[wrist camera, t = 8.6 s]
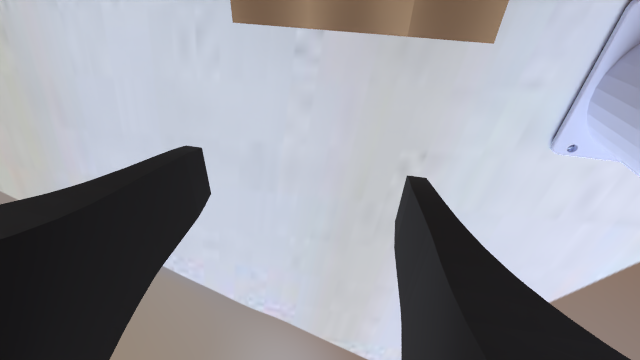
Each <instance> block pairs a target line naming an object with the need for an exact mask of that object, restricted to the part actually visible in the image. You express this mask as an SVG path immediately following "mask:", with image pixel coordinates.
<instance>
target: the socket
mask: <svg viewBox="0 0 640 360" xmlns="http://www.w3.org/2000/svg"><path fill="white" fill-rule="evenodd" d="M230 1H231V10H232V19H233V23H246V24H258V25H271V26H283V27H295V28H308V29H320V30H332V31H345V32H357V33H370V34H382V35H394V36H407V37H419V38H431V39H444V40H456V41H469V42H481V43H493V44H494V41H495V38H496V36H497V33H498V30H499V27H500V24H501V21H502V18H503V16H504V13H505V10H506V7H507V4H508V1H509V0H230Z"/></svg>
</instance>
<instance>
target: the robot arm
mask: <svg viewBox="0 0 640 360" xmlns="http://www.w3.org/2000/svg"><path fill="white" fill-rule="evenodd" d="M571 145H574V147H573V148H571V149H567V148H568V147H569V146H571ZM550 147H551V150H552V151H553V152H554V153H555V154H558V155H565V156H574V157H582V158H590V159H599V160H607V161H615V162H621V163H622V164H624V165H625V166H626V167H627V168H629V169H630V170H631V171H632V172H634V173H635V174H636V175H637V176H639V177H640V0H633V1H632V2H631V3H629V5H628V6H627V7H626V9H625V11H624V13H623V14H622V16H621V18H620V20H619V22H618V23H617V25H616V27H615V29H614V31H613V32H612V34H611V36H610V38H609V40H608V42H607V43H606V45H605V47H604V49H603V51H602V52H601V54H600V56H599V58H598V60H597V62H596V63H595V65H594V67H593V69H592V71H591V72H590V74H589V76H588V78H587V80H586V82H585V83H584V85H583V87H582V89H581V91H580V92H579V94H578V96H577V98H576V100H575V102H574V103H573V105H572V107H571V109H570V111H569V112H568V114H567V116H566V118H565V120H564V122H563V123H562V125H561V127H560V129H559V131H558V132H557V134H556V136H555V138H554V140H553V141H552V143H551V146H550ZM210 195H211V191H210V186H209V181H208V176H207V171H206V166H205V161H204V156H203V151H202V148H199V147H192V146H183V147H179V148H176V149H173V150H170V151H168V152H165V153H162V154H160V155H157V156H155V157H152V158H149V159H147V160H144V161H142V162H139V163H137V164H134V165H131V166H129V167H126V168H124V169H121V170H118V171H115V172H113V173H110V174H107V175H104V176H102V177H99V178H96V179H93V180H90V181H87V182H84V183H81V184H78V185H75V186H72V187H68V188H65V189H61V190H58V191H54V192H51V193H47V194H43V195H39V196H35V197H31V198H26V199H22V200H18V201H14V202H10V203H5V204H1V205H0V360H109V359H110V357H111V355H112V354H113V352H114V349H115V348H116V346H117V344H118V342H119V340H120V338H121V336H122V334H123V332H124V330H125V328H126V326H127V324H128V323H129V321H130V319H131V317H132V315H133V314H134V312H135V310H136V308H137V306H138V304H139V303H140V301H141V299H142V298H143V296H144V294H145V292H146V291H147V289H148V287H149V286H150V284H151V282H152V281H153V279H154V277H155V276H156V274H157V273H158V271H159V270H160V268H161V267H162V266H163V264H164V263H165V261H166V260H167V259H168V257H169V256H170V255H171V253H172V252H173V251H174V249H175V248H176V247H177V245H178V244H179V243H180V241H181V240H182V239H183V237H184V236H185V235H186V233H187V232H188V231H189V229H190V228H191V227H192V225H193V224H194V223H195V221H196V220H197V218H198V217H199V215H200V214H201V212H202V210H203V208H204V207H205V205H206V203H207V201H208V199H209V197H210ZM394 248H395V259H396V269H397V279H398V288H399V298H400V307H401V323H402V360H630V359H629V358H627V357H626V356H624V355H622V354H621V353H619V352H618V351H616V350H615V349H613V348H611V347H610V346H609V345H607V344H606V343H604V342H603V341H601V340H600V339H598V338H597V337H595V336H594V335H592V334H591V333H590V332H588V331H587V330H585V329H584V328H583V327H581V326H580V325H578V324H577V323H575V322H574V321H573V320H571V319H570V318H568V317H567V316H566V315H564V314H563V313H562V312H560V311H559V310H558V309H556V308H555V307H553V306H552V305H551V304H549V303H548V302H547V301H546V300H544V299H543V298H542V297H541V296H539V295H538V294H537V293H536V292H534V291H533V290H532V289H531V288H529V287H528V286H527V285H526V284H524V283H523V282H522V281H521V280H520V279H518V278H517V277H516V276H515V275H514V274H512V273H511V272H510V271H509V270H508V269H507V268H506V267H505V266H504V265H503V264H501V263H500V262H499V261H498V260H497V259H496V258H495V257H494V256H493V255H492V254H491V253H490V252H489V251H488V250H486V249H485V248H484V247H483V246H482V245H481V244H480V242H479V241H478V240H477V239H476V238H475V237H474V236H473V235H472V234H471V233H470V232H469V231H468V230H467V229H466V227H465V226H464V225H463V224H462V223H461V222H460V221H459V219H458V218H457V217H456V216H455V215H454V213H453V212H452V211H451V210H450V208H449V207H448V206H447V205H446V203H445V202H444V201H443V200H442V198H441V197H440V196H439V194H438V193H437V192H436V190H435V189H434V188H433V186H432V185H431V184H430V182H429V181H428V180H427V178H422V177H414V176H407V178H406V182H405V186H404V189H403V193H402V197H401V201H400V205H399V209H398V213H397V217H396V220H395V245H394Z"/></svg>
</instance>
